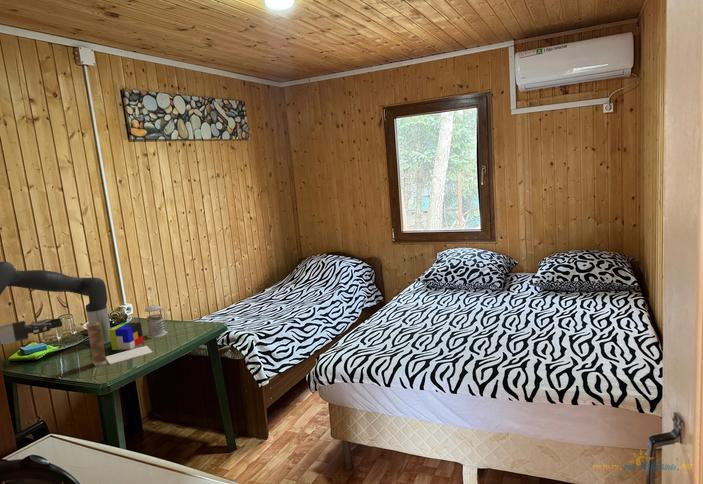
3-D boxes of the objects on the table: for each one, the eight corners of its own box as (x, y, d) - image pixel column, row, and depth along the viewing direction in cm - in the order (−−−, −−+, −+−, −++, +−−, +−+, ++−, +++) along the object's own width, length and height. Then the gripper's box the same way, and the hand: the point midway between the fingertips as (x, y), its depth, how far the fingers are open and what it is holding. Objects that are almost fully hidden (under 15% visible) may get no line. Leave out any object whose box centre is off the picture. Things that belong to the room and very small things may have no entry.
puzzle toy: (130, 349, 227) (127, 329, 226) (112, 349, 229) (108, 329, 228) (143, 341, 237) (140, 322, 235) (125, 342, 239) (122, 322, 237)
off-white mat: (109, 364, 209) (109, 363, 209) (105, 357, 219) (105, 356, 219) (152, 352, 219) (152, 351, 219) (146, 346, 229) (146, 345, 229)
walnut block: (95, 366, 209) (88, 326, 206) (93, 362, 213) (86, 324, 211) (106, 363, 211) (99, 324, 209) (104, 359, 216) (97, 321, 213)
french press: (142, 336, 245) (135, 289, 241) (162, 329, 255) (155, 283, 251) (155, 338, 240) (147, 290, 236) (174, 331, 249) (167, 284, 246)
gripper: (11, 327, 187) (61, 316, 196) (11, 320, 198) (58, 310, 208) (15, 345, 188) (64, 334, 197) (14, 337, 199) (61, 326, 209)
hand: (61, 321), depth 203 cm, fingers open, 5 cm apart
